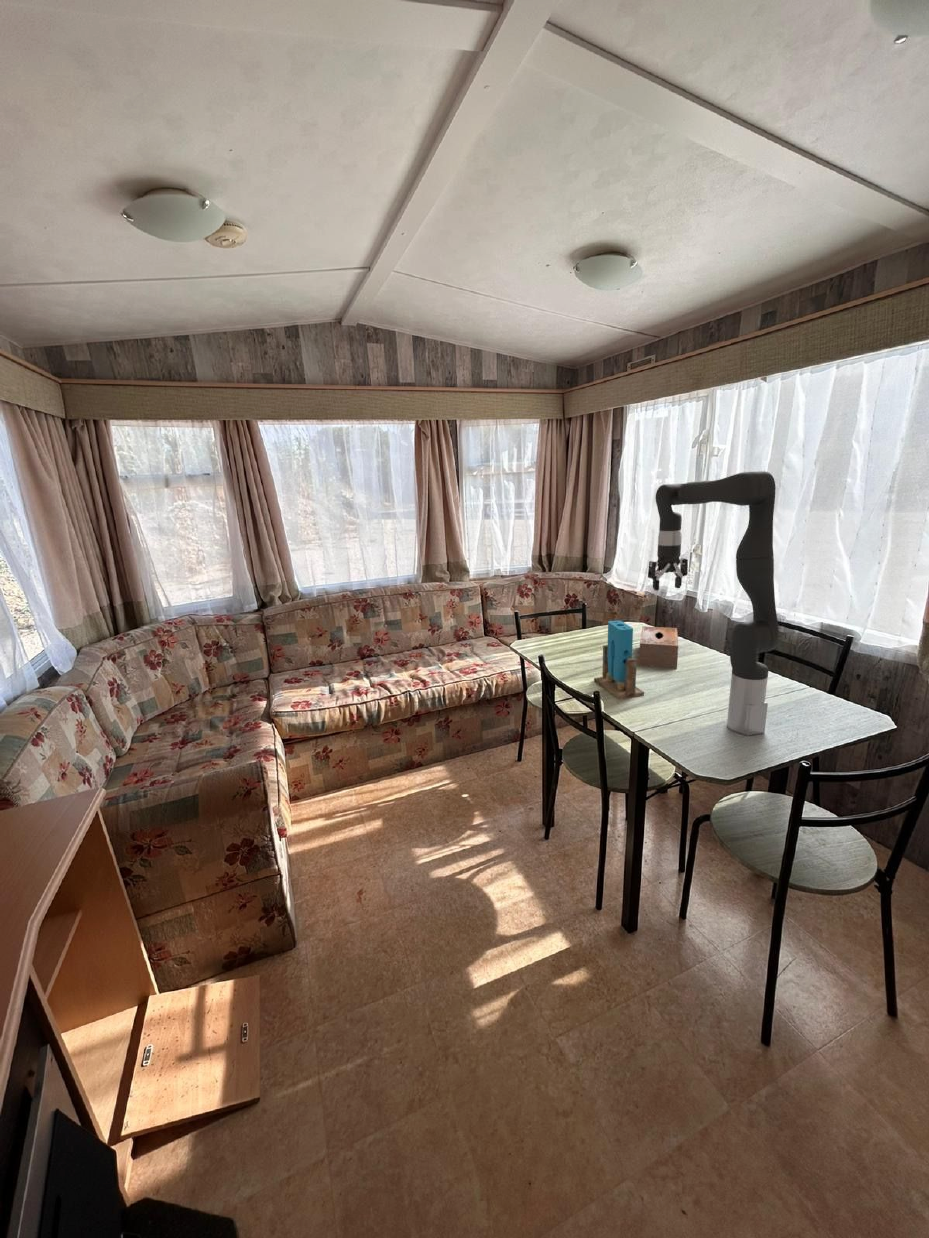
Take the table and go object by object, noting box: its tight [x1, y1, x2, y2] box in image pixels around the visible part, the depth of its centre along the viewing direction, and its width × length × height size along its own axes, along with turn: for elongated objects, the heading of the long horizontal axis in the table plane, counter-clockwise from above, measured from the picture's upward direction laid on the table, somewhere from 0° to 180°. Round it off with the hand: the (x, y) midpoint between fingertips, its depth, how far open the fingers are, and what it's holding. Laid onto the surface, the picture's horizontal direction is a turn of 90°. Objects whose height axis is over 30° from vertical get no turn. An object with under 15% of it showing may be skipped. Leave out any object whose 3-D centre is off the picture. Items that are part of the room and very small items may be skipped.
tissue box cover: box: [638, 626, 679, 670], centre depth 211 cm, size 26×14×10 cm, turn 158°
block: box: [607, 620, 634, 682], centre depth 179 cm, size 12×5×20 cm, turn 5°
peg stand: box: [593, 644, 645, 700], centre depth 181 cm, size 10×18×14 cm, turn 13°
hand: (666, 589), depth 175 cm, fingers open, 8 cm apart
